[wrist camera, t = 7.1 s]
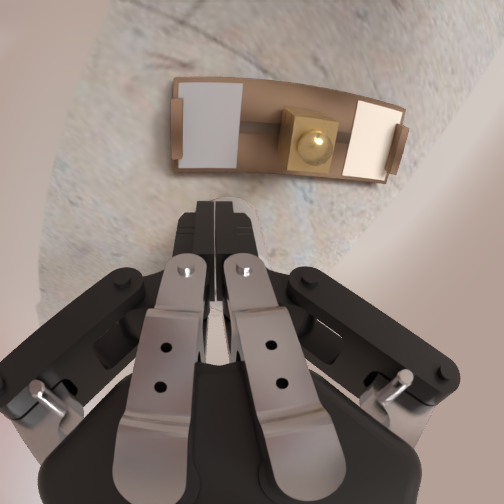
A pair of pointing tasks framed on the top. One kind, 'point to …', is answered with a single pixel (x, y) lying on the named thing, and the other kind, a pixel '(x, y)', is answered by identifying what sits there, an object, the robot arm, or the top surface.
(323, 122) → the brass knob
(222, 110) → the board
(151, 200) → the top surface
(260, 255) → the can
